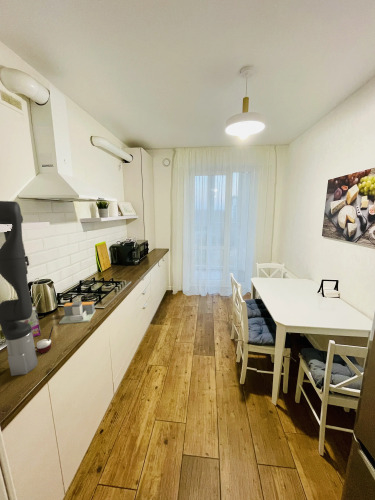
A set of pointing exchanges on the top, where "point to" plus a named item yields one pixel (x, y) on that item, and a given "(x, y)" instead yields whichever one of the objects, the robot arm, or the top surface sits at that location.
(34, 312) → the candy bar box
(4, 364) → the top surface
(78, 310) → the white grey-topped block
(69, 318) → the orange-topped grey blocks
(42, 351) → the cocoa
